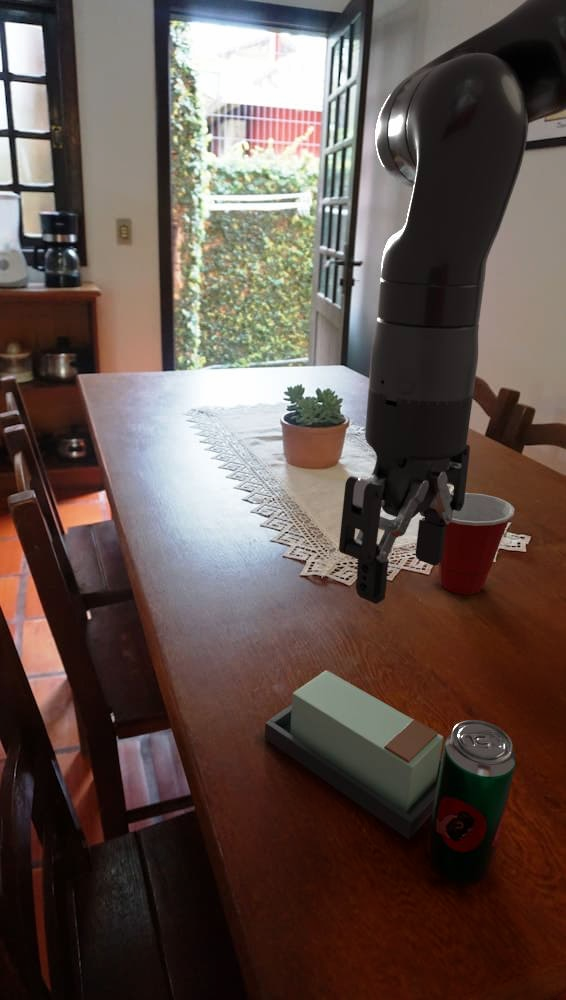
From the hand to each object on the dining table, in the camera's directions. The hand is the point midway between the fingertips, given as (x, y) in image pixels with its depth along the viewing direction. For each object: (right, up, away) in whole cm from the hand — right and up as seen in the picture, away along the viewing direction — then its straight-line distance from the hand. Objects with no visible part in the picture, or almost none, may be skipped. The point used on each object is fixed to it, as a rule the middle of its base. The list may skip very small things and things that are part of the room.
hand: (400, 579), depth 56 cm
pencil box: (-2, -17, +7) cm, 19 cm away
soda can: (+4, -22, -2) cm, 22 cm away
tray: (-3, -18, +7) cm, 19 cm away
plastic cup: (+15, -5, +38) cm, 41 cm away
